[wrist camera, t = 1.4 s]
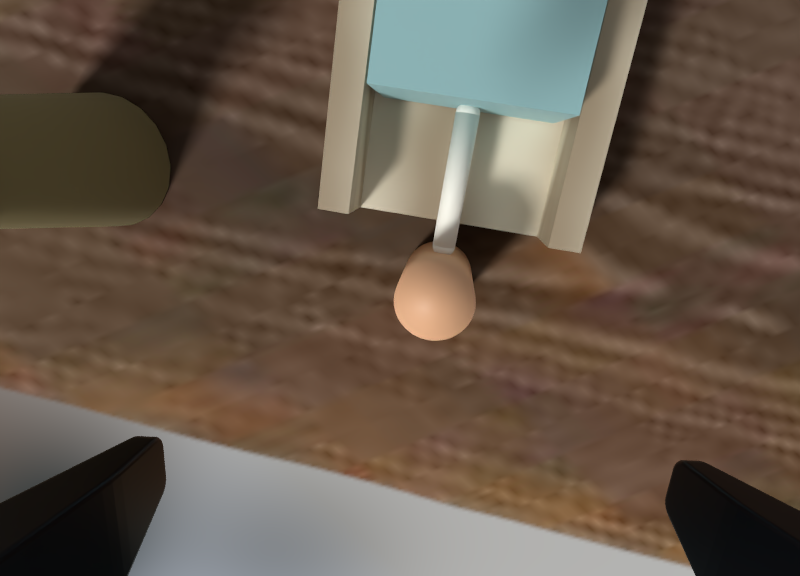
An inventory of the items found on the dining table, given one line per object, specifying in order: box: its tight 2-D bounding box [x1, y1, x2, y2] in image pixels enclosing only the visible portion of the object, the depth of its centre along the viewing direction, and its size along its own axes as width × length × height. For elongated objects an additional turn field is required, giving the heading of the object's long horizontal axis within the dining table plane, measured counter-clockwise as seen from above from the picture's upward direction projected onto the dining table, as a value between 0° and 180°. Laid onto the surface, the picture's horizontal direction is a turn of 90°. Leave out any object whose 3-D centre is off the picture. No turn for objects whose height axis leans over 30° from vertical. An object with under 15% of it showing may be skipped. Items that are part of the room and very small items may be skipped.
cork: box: [0, 92, 171, 229], centre depth 17 cm, size 6×6×11 cm
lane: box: [318, 0, 648, 253], centre depth 18 cm, size 10×10×4 cm
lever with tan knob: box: [367, 0, 608, 341], centre depth 18 cm, size 7×12×5 cm, turn 171°
